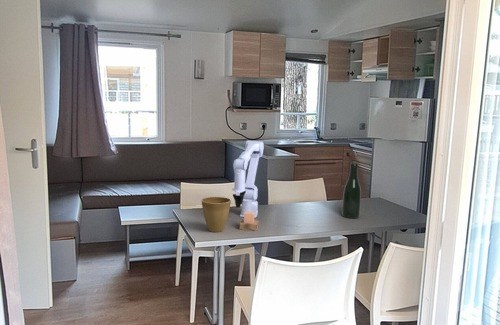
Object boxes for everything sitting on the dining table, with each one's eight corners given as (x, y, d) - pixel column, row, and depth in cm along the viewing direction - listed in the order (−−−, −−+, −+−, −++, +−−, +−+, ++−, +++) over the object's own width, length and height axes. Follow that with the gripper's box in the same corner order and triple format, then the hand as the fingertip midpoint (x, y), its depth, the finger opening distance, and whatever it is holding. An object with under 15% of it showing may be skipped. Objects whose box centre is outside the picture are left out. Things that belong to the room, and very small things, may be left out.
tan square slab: (258, 225, 245) (258, 220, 244) (256, 230, 236) (257, 225, 235) (242, 224, 246) (242, 219, 245) (239, 229, 237) (239, 223, 237)
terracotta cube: (254, 221, 243) (254, 212, 242) (253, 223, 238) (253, 214, 237) (245, 220, 243) (245, 211, 242) (243, 223, 238) (244, 213, 237)
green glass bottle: (338, 216, 270) (341, 161, 265) (347, 213, 278) (351, 159, 272) (353, 220, 263) (357, 163, 258) (363, 216, 271) (367, 161, 265)
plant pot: (228, 225, 243) (229, 196, 241) (231, 234, 228) (232, 203, 226) (200, 225, 241) (201, 196, 238) (201, 234, 226) (201, 203, 224)
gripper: (234, 178, 254) (233, 202, 256) (230, 183, 240) (229, 208, 242) (247, 179, 253) (246, 202, 255) (243, 184, 239) (242, 209, 241)
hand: (239, 205), depth 249 cm, fingers open, 7 cm apart
